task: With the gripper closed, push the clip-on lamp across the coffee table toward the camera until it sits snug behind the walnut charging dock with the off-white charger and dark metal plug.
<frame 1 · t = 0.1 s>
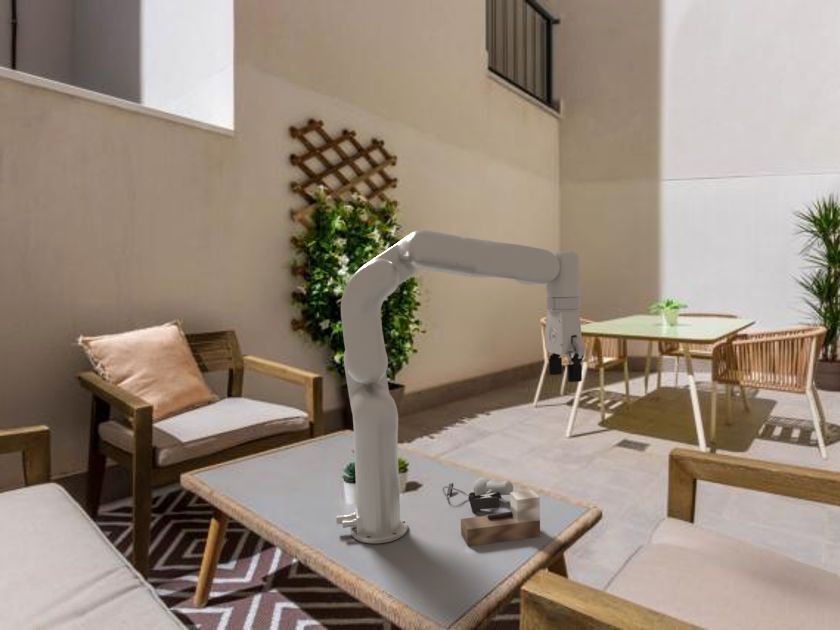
hand: (564, 377, 121), 31 cm above the table, tool pointing down, fingers open, 9 cm apart
clip-on lamp: (475, 503, 128), on the table
charging dock: (500, 535, 110), on the table
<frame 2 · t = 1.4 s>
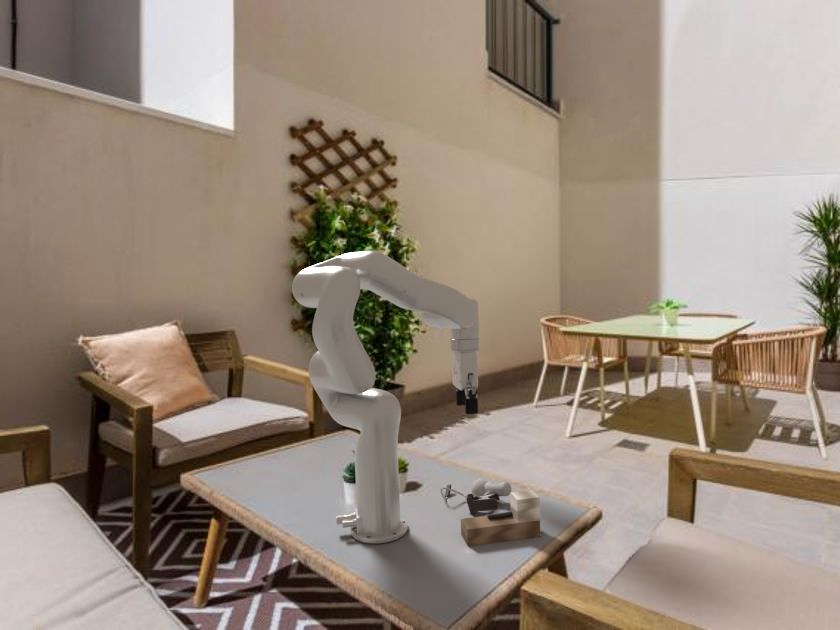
hand: (466, 409, 137), 21 cm above the table, tool pointing down, fingers open, 9 cm apart
nothing on the table moved.
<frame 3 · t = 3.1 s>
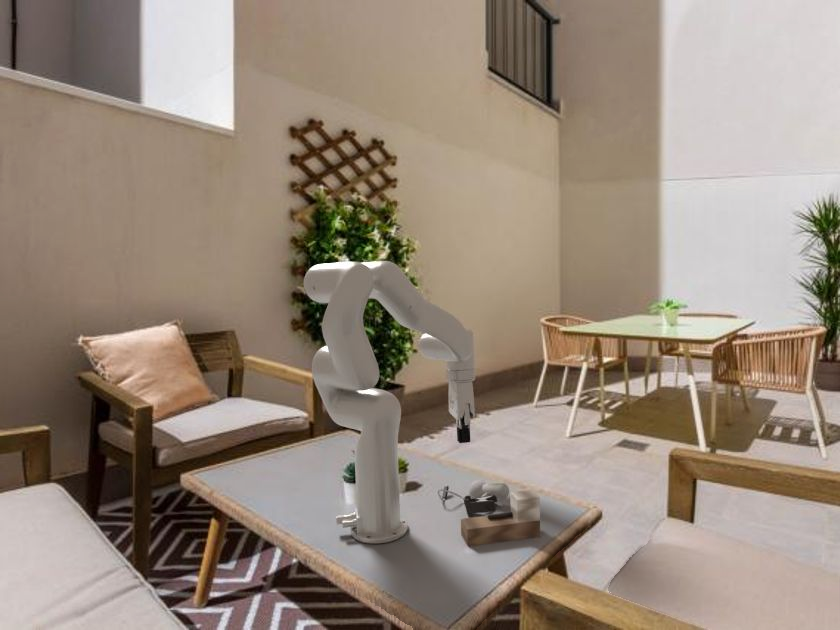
hand: (463, 441, 139), 12 cm above the table, tool pointing down, fingers closed
clip-on lamp: (470, 506, 126), on the table
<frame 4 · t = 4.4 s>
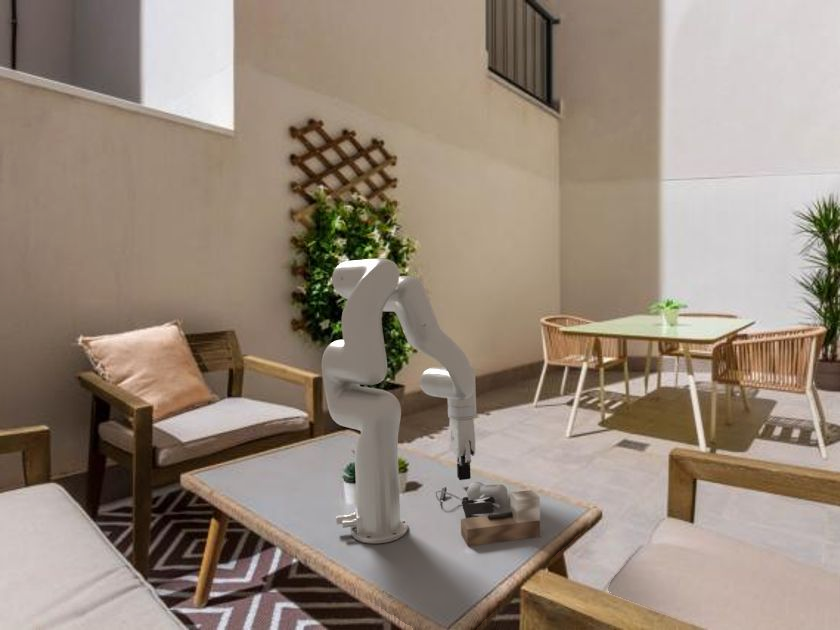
hand: (463, 478, 138), 2 cm above the table, tool pointing down, fingers closed
nothing on the table moved.
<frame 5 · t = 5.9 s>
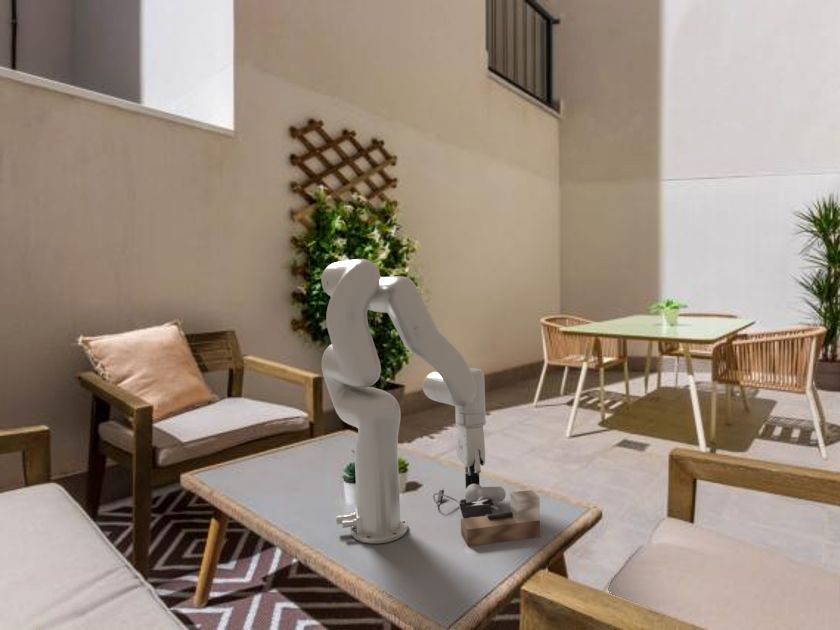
hand: (472, 489, 130), 2 cm above the table, tool pointing down, fingers closed
clip-on lamp: (466, 510, 124), on the table
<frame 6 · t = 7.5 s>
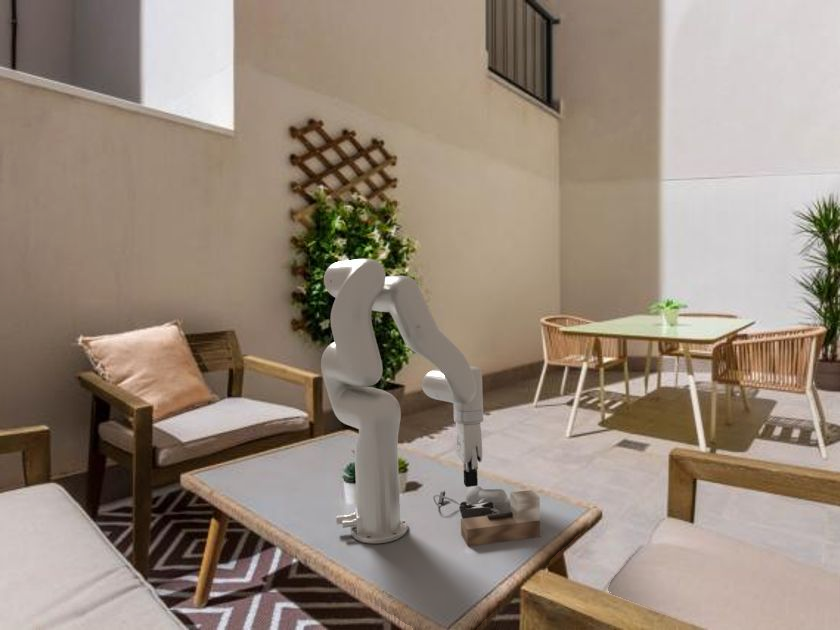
hand: (470, 485, 133), 2 cm above the table, tool pointing down, fingers closed
clip-on lamp: (467, 513, 122), on the table
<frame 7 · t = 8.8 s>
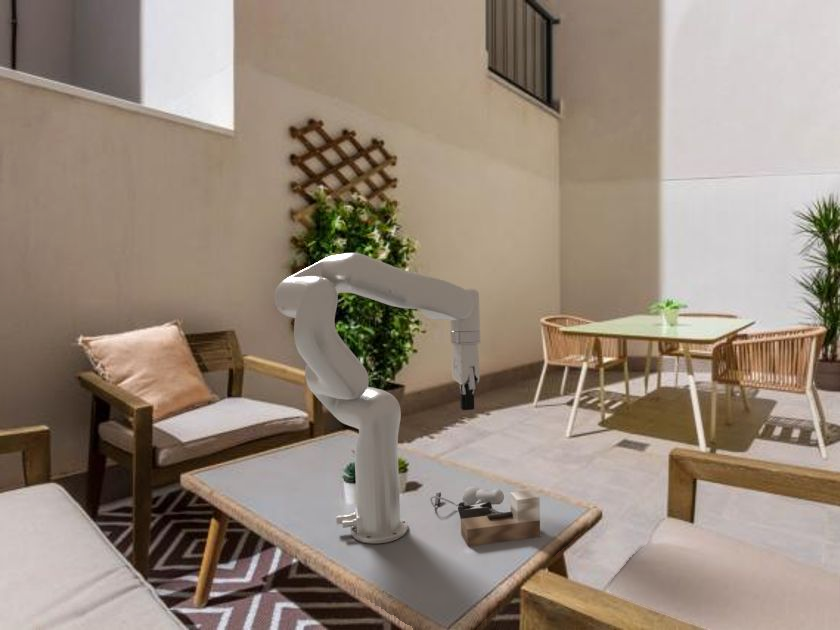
hand: (467, 409, 132), 22 cm above the table, tool pointing down, fingers closed
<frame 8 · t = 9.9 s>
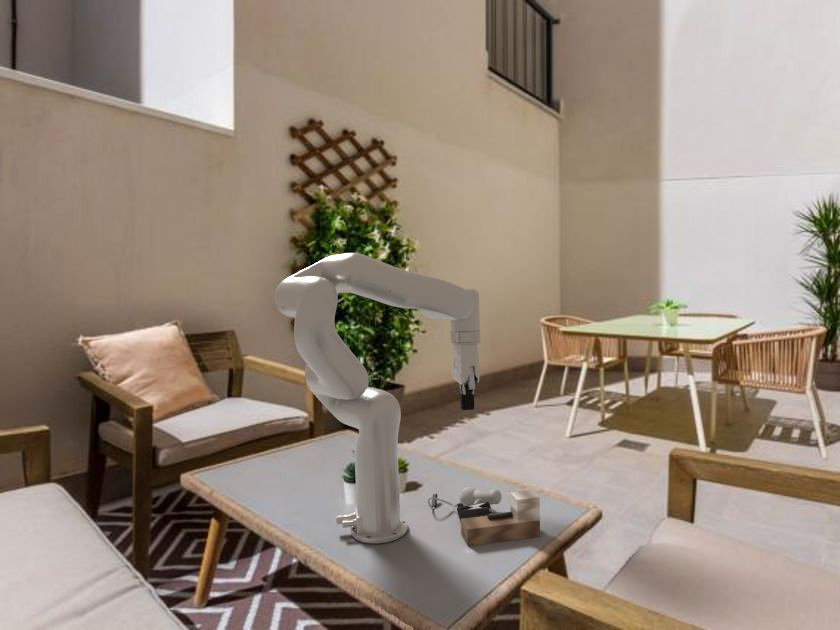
hand: (467, 408, 132), 22 cm above the table, tool pointing down, fingers closed
at the end: clip-on lamp inside the target area (5.0 cm from its centre), on the table; clip-on lamp moved 7.3 cm from its start; clip-on lamp tilted 0° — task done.
